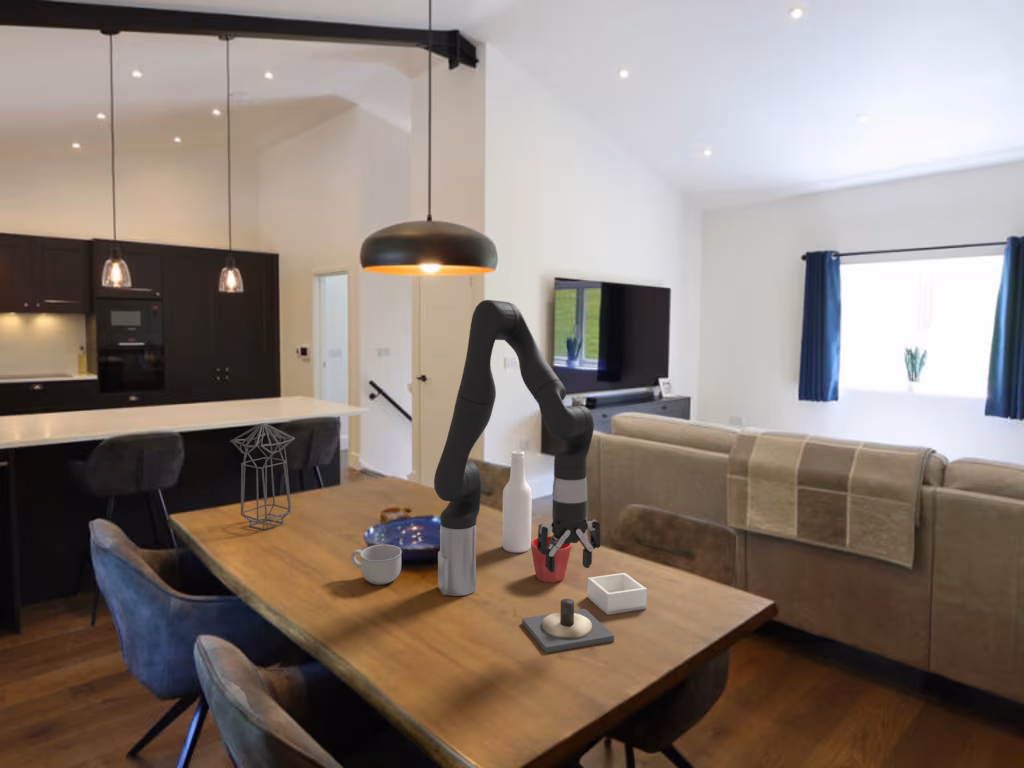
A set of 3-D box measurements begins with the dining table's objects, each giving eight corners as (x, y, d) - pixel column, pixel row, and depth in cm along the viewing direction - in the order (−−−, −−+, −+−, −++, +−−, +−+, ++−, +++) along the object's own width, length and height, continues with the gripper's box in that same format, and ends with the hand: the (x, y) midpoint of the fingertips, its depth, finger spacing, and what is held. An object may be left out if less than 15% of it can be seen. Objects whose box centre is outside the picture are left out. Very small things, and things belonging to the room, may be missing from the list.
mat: (546, 652, 132) (546, 647, 132) (522, 623, 145) (522, 618, 145) (614, 641, 138) (614, 635, 138) (585, 613, 151) (585, 608, 151)
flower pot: (568, 586, 166) (569, 550, 166) (527, 582, 169) (527, 547, 168) (572, 571, 177) (573, 537, 176) (533, 568, 179) (534, 534, 178)
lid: (554, 642, 134) (555, 615, 134) (534, 619, 145) (535, 595, 144) (600, 634, 138) (601, 608, 138) (578, 612, 148) (578, 588, 148)
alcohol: (531, 544, 199) (533, 449, 196) (529, 554, 190) (531, 455, 187) (503, 542, 200) (505, 448, 197) (500, 552, 191) (501, 454, 188)
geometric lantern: (300, 523, 216) (297, 422, 212) (260, 537, 203) (256, 429, 199) (270, 515, 225) (267, 417, 221) (230, 527, 211) (226, 424, 207)
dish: (607, 614, 150) (607, 594, 150) (587, 596, 160) (587, 577, 160) (646, 608, 154) (646, 588, 153) (624, 591, 164) (624, 572, 163)
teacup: (409, 577, 172) (409, 548, 171) (385, 591, 162) (385, 561, 161) (367, 568, 177) (367, 540, 177) (342, 581, 168) (341, 552, 167)
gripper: (546, 504, 133) (545, 579, 134) (606, 498, 138) (605, 571, 139) (533, 495, 140) (532, 567, 141) (591, 490, 145) (589, 559, 146)
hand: (568, 569), depth 140 cm, fingers open, 8 cm apart
